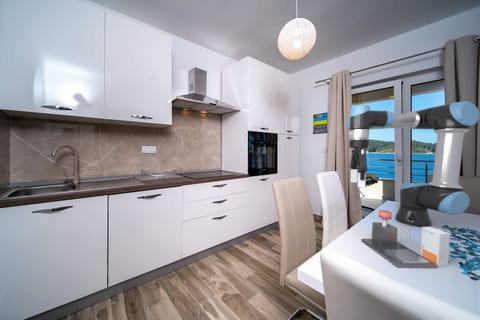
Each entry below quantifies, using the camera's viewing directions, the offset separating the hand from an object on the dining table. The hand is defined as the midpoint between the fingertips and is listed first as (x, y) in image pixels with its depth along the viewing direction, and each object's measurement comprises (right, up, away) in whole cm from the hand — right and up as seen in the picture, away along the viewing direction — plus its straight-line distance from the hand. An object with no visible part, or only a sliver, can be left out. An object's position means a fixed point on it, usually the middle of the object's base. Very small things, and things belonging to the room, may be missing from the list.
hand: (357, 184), depth 86 cm
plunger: (+7, -21, -8) cm, 23 cm away
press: (+7, -26, -13) cm, 30 cm away
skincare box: (+17, -26, -18) cm, 36 cm away
